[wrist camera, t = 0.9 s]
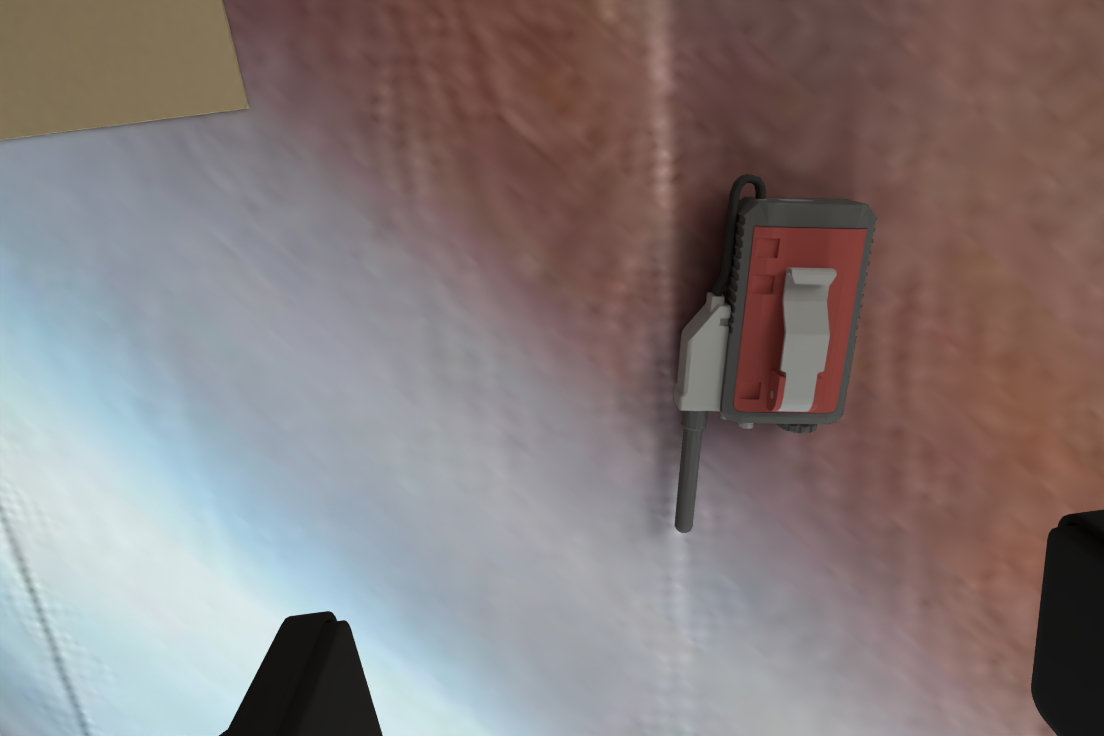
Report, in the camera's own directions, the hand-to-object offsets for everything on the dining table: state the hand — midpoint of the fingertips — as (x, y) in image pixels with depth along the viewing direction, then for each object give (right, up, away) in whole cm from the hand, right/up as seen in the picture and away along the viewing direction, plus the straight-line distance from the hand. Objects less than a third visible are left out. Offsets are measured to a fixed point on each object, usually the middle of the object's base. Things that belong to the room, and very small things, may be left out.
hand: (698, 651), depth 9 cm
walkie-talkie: (+9, +4, +29) cm, 31 cm away
